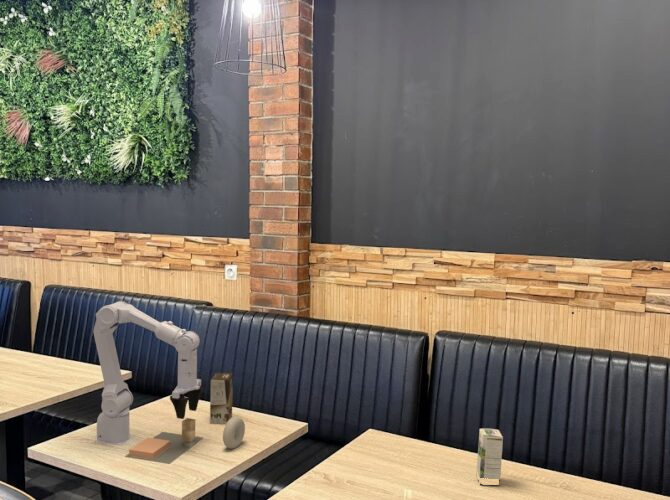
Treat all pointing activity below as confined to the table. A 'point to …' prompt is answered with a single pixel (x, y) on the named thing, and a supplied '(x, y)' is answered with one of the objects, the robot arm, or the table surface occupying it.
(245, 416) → the table surface
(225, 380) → the coffee box
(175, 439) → the mat
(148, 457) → the tile
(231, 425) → the grey round disc
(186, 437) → the wooden block
